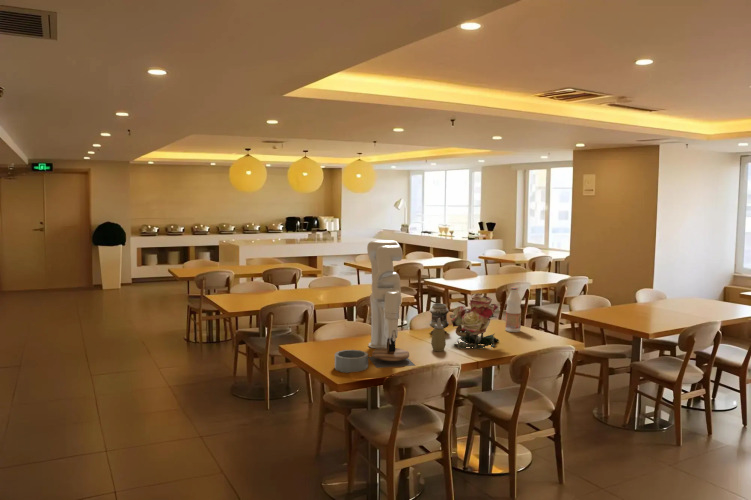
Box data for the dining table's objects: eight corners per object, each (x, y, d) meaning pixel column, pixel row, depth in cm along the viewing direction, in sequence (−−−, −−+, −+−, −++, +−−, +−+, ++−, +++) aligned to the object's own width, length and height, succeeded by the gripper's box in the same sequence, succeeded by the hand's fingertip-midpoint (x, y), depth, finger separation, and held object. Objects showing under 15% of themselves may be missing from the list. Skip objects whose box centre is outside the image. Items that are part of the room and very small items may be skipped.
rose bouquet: (450, 338, 346) (451, 289, 344) (499, 340, 341) (500, 291, 338) (446, 348, 321) (448, 296, 319) (499, 352, 316) (501, 298, 313)
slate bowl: (332, 364, 288) (332, 350, 287) (363, 362, 292) (363, 349, 291) (338, 373, 273) (338, 359, 272) (370, 371, 276) (370, 357, 276)
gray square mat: (367, 357, 301) (367, 356, 301) (404, 355, 305) (404, 354, 305) (376, 368, 281) (376, 367, 281) (415, 366, 286) (415, 365, 286)
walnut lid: (368, 351, 301) (368, 337, 300) (403, 349, 305) (403, 336, 304) (377, 361, 282) (377, 347, 281) (414, 359, 287) (414, 345, 286)
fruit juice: (509, 332, 362) (510, 289, 359) (502, 329, 371) (504, 286, 369) (523, 332, 364) (524, 288, 362) (516, 328, 373) (517, 286, 371)
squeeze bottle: (432, 347, 322) (433, 316, 321) (446, 349, 320) (447, 317, 319) (429, 351, 315) (430, 319, 313) (444, 352, 312) (445, 320, 311)
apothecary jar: (438, 329, 368) (438, 302, 367) (452, 332, 359) (453, 304, 358) (425, 332, 360) (425, 304, 358) (439, 335, 351) (440, 307, 350)
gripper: (380, 312, 298) (379, 346, 301) (388, 319, 282) (388, 355, 285) (394, 311, 300) (393, 345, 302) (403, 318, 284) (402, 354, 286)
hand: (390, 350), depth 293 cm, fingers closed on walnut lid, 3 cm apart
